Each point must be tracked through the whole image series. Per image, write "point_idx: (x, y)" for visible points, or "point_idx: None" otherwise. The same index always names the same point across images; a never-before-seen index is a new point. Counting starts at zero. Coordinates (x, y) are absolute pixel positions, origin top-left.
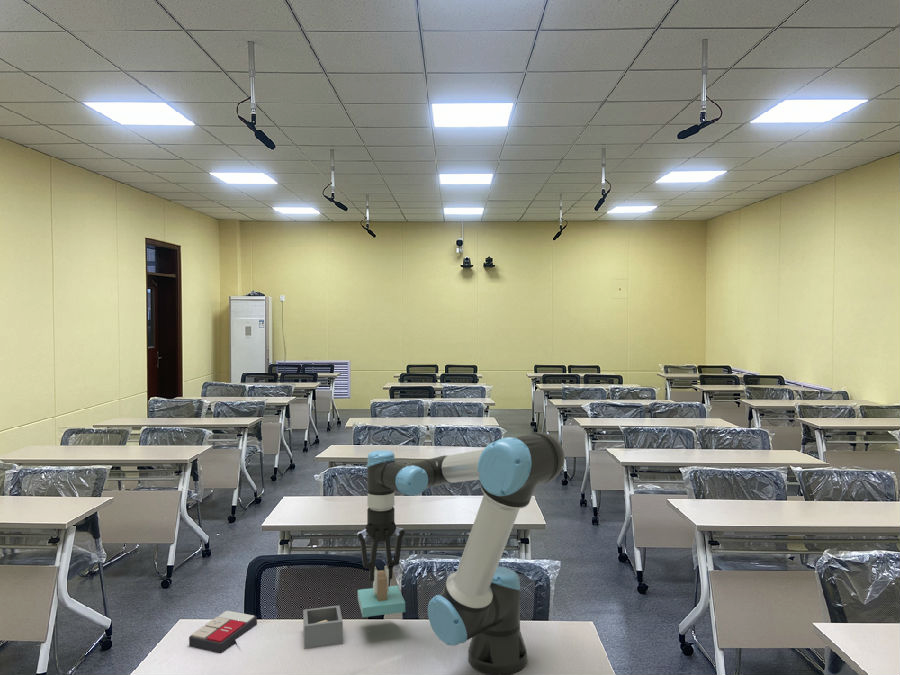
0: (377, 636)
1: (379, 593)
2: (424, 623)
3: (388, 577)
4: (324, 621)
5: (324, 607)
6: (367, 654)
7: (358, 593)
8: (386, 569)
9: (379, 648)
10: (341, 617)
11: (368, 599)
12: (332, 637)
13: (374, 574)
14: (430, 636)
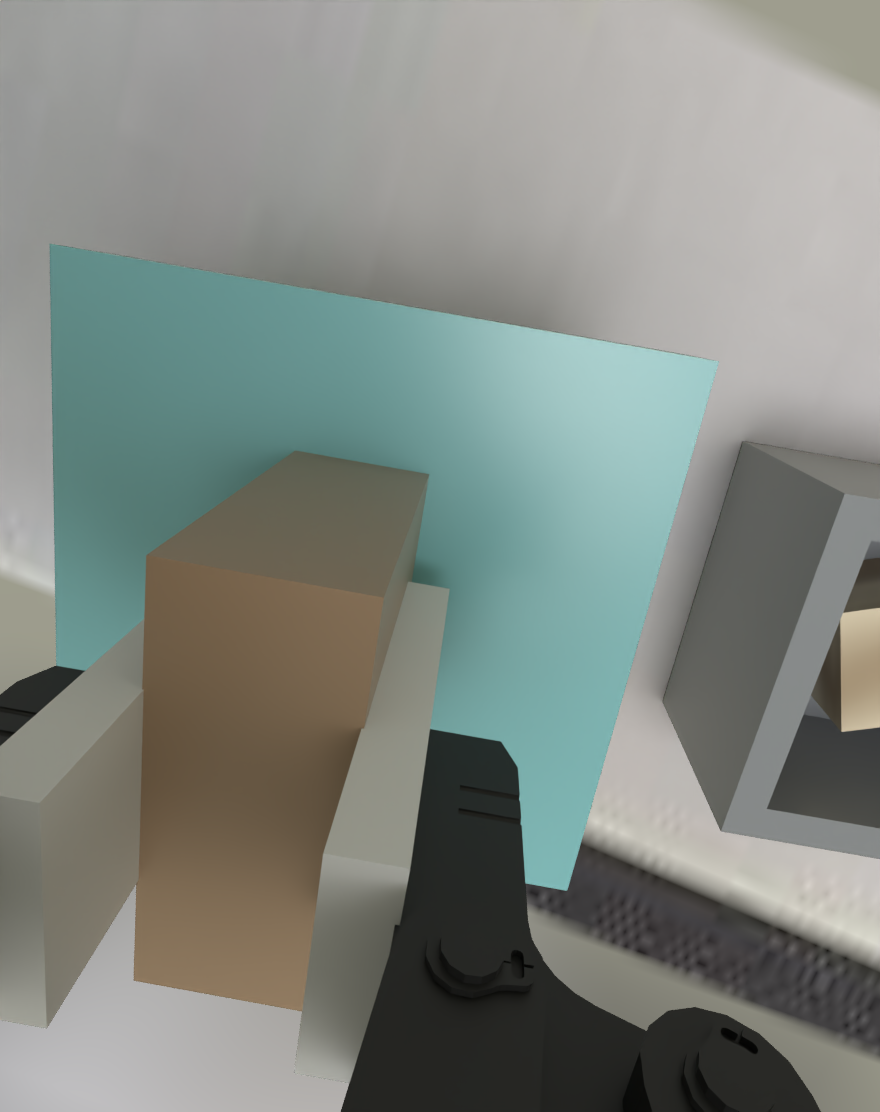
0: None
1: (392, 498)
2: (30, 521)
3: (102, 660)
4: (871, 709)
5: (868, 851)
6: (603, 235)
7: (587, 809)
8: (30, 799)
9: (477, 290)
10: (814, 585)
11: (534, 589)
12: (872, 474)
13: (420, 794)
14: (24, 295)
